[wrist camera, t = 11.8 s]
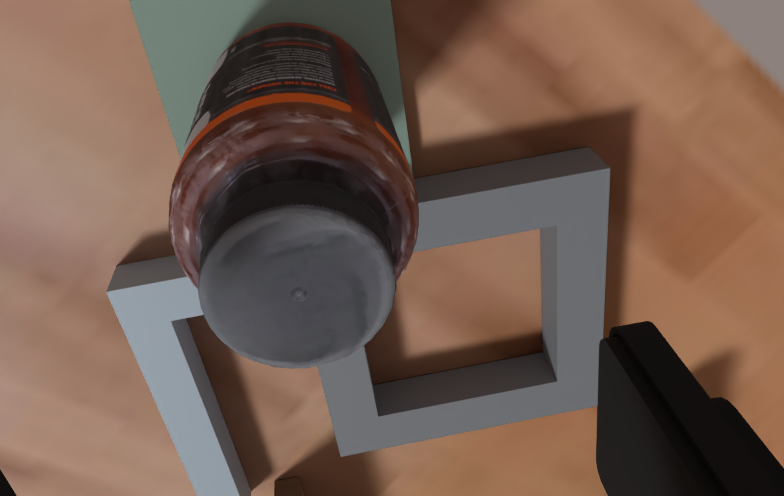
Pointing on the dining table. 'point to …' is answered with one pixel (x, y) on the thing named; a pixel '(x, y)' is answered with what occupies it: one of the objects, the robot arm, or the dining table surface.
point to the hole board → (559, 307)
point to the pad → (238, 17)
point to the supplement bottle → (293, 199)
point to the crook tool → (177, 370)
